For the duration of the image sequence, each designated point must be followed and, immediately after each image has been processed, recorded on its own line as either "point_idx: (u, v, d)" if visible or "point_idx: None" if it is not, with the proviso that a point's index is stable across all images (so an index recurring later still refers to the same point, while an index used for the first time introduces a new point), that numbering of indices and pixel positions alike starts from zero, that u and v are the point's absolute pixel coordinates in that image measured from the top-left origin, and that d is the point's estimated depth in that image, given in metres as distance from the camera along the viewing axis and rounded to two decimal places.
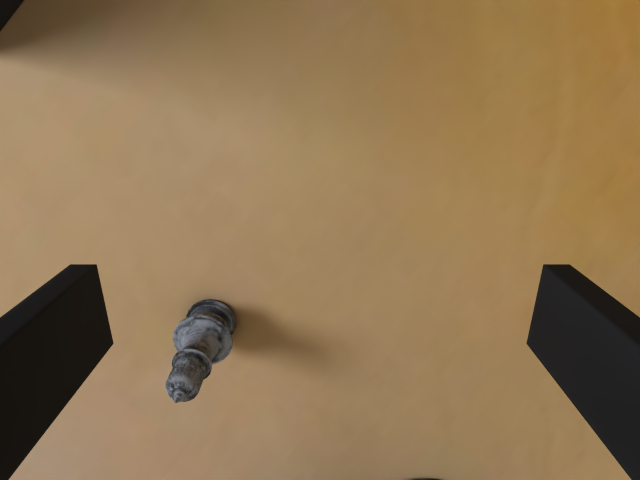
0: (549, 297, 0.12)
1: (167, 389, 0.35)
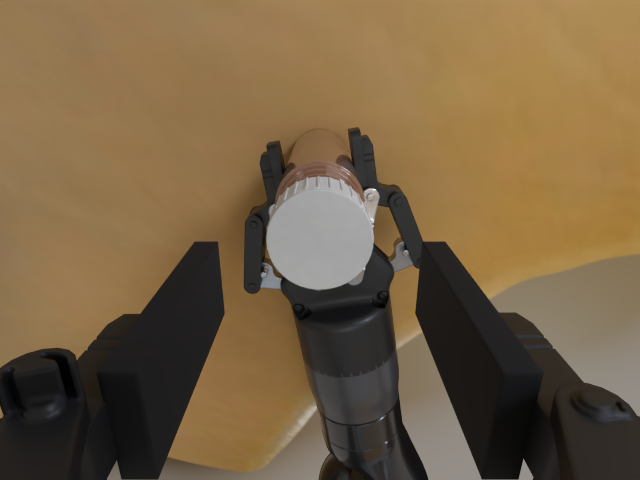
0: (424, 270, 0.13)
1: None
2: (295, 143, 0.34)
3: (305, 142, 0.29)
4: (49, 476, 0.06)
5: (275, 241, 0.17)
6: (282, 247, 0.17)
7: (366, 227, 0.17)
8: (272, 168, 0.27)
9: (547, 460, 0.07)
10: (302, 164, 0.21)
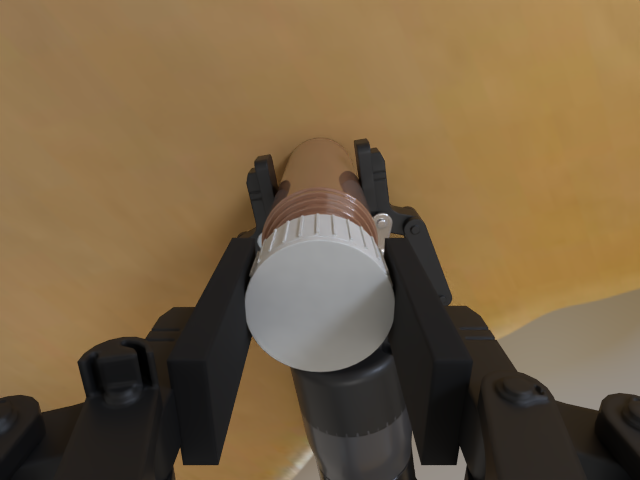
0: None
1: None
2: (291, 155, 0.29)
3: (302, 156, 0.24)
4: (128, 461, 0.06)
5: (257, 309, 0.12)
6: (267, 317, 0.12)
7: (385, 290, 0.12)
8: (261, 189, 0.22)
9: (476, 447, 0.08)
10: (297, 191, 0.16)
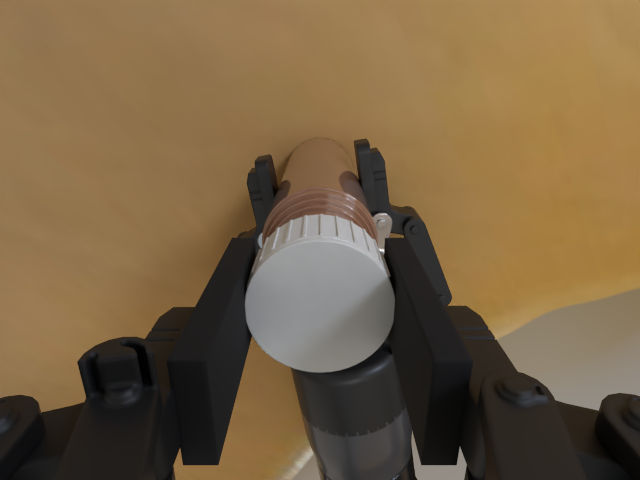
0: None
1: None
2: (291, 155, 0.29)
3: (302, 156, 0.24)
4: (128, 461, 0.06)
5: (342, 359, 0.13)
6: (346, 349, 0.13)
7: (272, 264, 0.12)
8: (262, 189, 0.22)
9: (477, 448, 0.08)
10: (297, 191, 0.16)
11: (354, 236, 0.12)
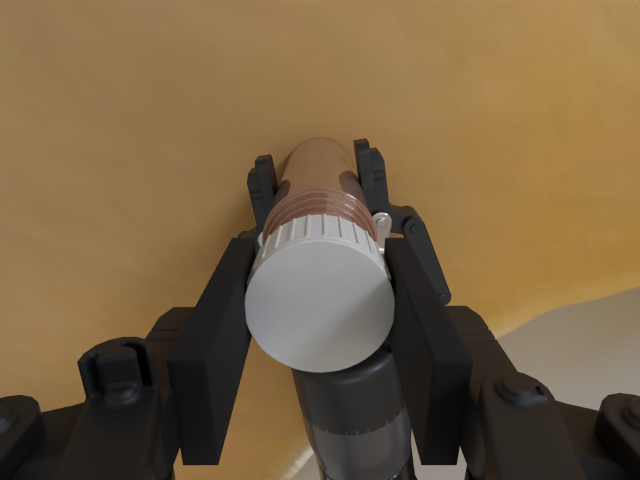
0: None
1: None
2: (291, 155, 0.29)
3: (302, 156, 0.24)
4: (128, 461, 0.06)
5: (366, 271, 0.12)
6: (352, 271, 0.12)
7: (291, 361, 0.13)
8: (262, 188, 0.23)
9: (477, 447, 0.08)
10: (297, 191, 0.17)
11: None
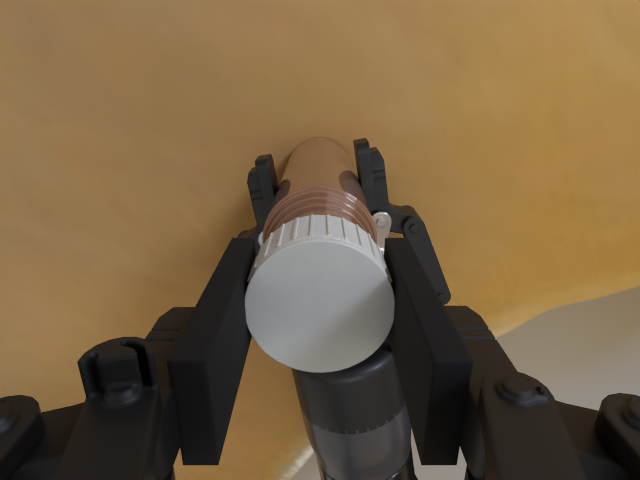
0: None
1: None
2: (291, 155, 0.29)
3: (302, 156, 0.24)
4: (128, 461, 0.06)
5: (260, 290, 0.12)
6: (266, 300, 0.12)
7: (387, 313, 0.12)
8: (262, 188, 0.23)
9: (477, 448, 0.08)
10: (297, 190, 0.17)
11: None
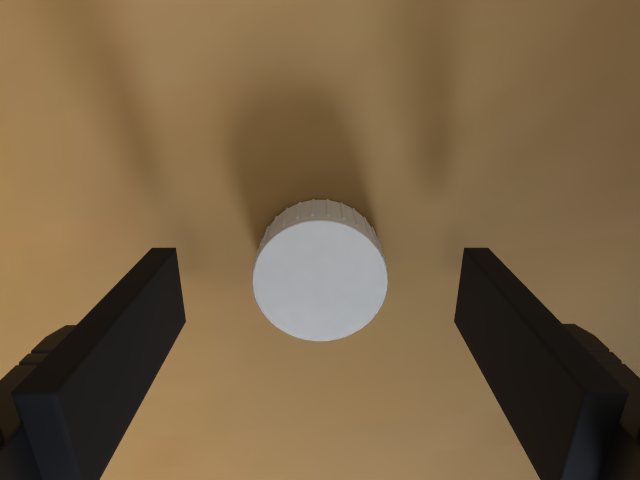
0: (468, 277, 0.13)
1: None
2: None
3: None
4: None
5: (267, 264, 0.13)
6: (272, 274, 0.14)
7: (380, 286, 0.14)
8: None
9: None
10: None
11: None
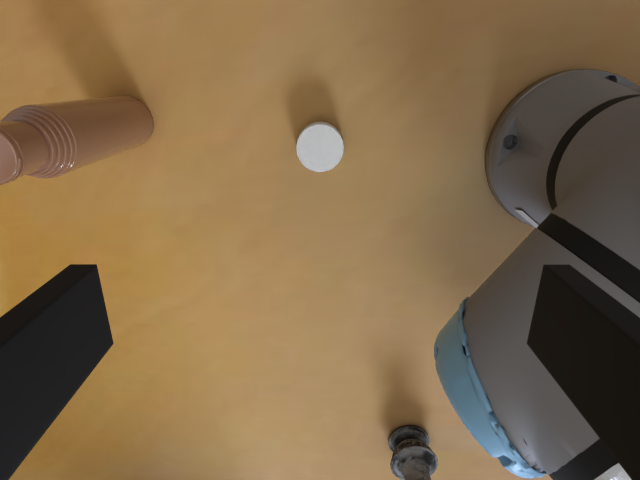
0: (549, 297, 0.12)
1: None
2: (143, 108, 0.39)
3: (126, 127, 0.35)
4: None
5: (301, 140, 0.39)
6: (303, 144, 0.39)
7: (341, 149, 0.39)
8: None
9: None
10: (76, 142, 0.28)
11: None
